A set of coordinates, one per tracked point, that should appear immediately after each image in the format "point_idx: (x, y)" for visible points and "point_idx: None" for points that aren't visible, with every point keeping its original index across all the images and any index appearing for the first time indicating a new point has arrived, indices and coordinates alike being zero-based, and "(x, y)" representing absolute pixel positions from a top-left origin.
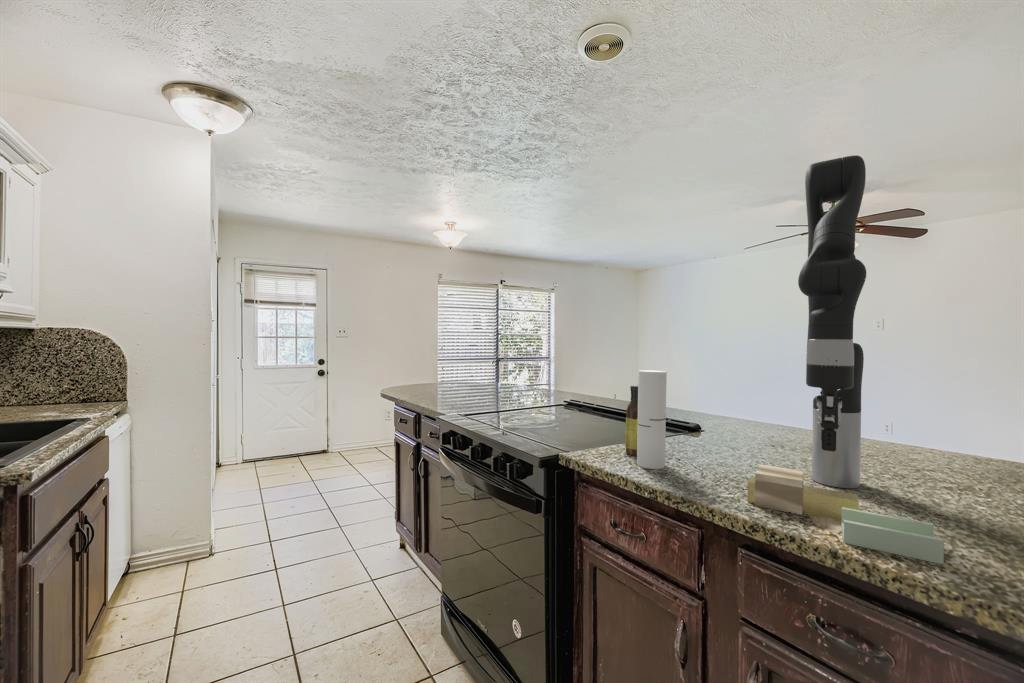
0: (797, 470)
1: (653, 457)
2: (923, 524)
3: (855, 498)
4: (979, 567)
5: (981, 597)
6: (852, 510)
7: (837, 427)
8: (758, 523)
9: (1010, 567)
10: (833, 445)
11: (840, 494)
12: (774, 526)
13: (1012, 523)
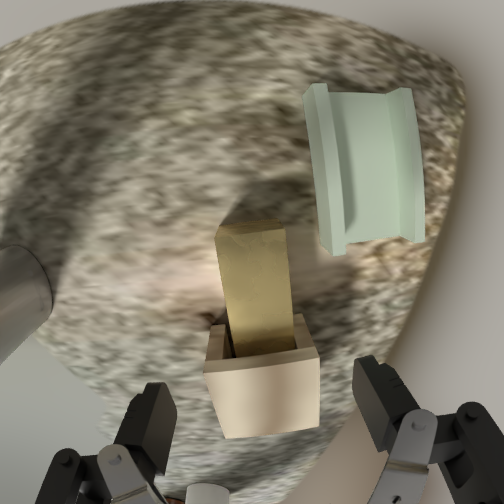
0: (214, 383)
1: (224, 501)
2: (328, 100)
3: (262, 236)
4: (358, 52)
5: (454, 87)
6: (343, 234)
7: (480, 405)
8: (390, 347)
9: (319, 15)
10: (395, 371)
11: (251, 271)
12: (391, 329)
13: (61, 24)
